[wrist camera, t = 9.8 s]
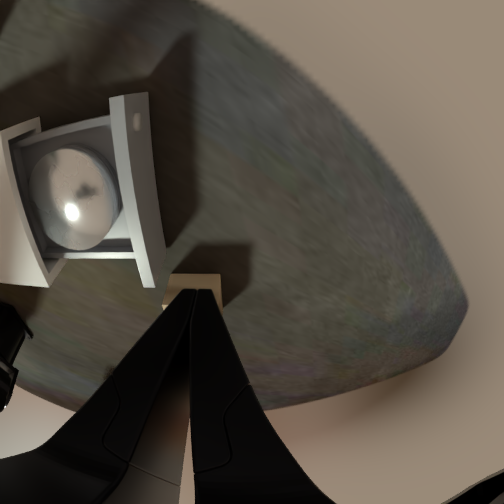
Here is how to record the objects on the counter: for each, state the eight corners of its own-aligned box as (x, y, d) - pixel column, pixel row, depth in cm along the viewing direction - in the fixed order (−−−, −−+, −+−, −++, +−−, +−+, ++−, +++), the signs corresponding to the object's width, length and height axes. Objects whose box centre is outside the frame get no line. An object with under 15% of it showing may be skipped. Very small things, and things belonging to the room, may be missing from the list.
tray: (170, 253, 20) (158, 287, 17) (56, 254, 19) (35, 281, 16) (152, 91, 13) (128, 94, 10) (23, 125, 13) (-10, 139, 9)
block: (222, 308, 24) (221, 340, 21) (178, 308, 23) (172, 339, 21) (220, 273, 21) (217, 305, 18) (170, 273, 21) (162, 304, 18)
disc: (129, 237, 17) (121, 250, 16) (54, 238, 17) (44, 249, 16) (114, 136, 13) (102, 142, 12) (33, 152, 13) (19, 159, 12)
